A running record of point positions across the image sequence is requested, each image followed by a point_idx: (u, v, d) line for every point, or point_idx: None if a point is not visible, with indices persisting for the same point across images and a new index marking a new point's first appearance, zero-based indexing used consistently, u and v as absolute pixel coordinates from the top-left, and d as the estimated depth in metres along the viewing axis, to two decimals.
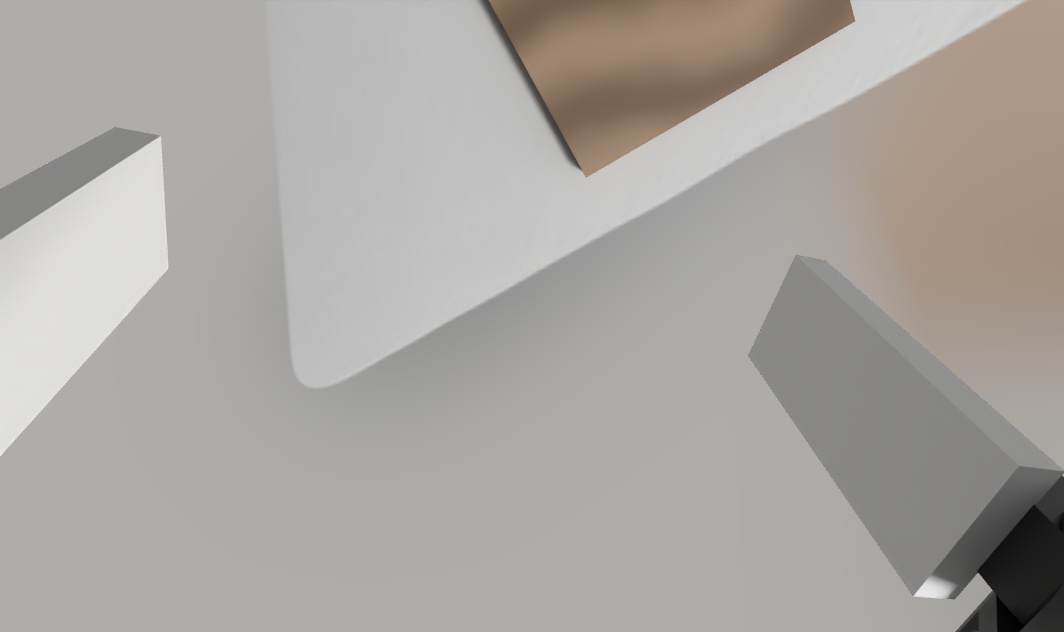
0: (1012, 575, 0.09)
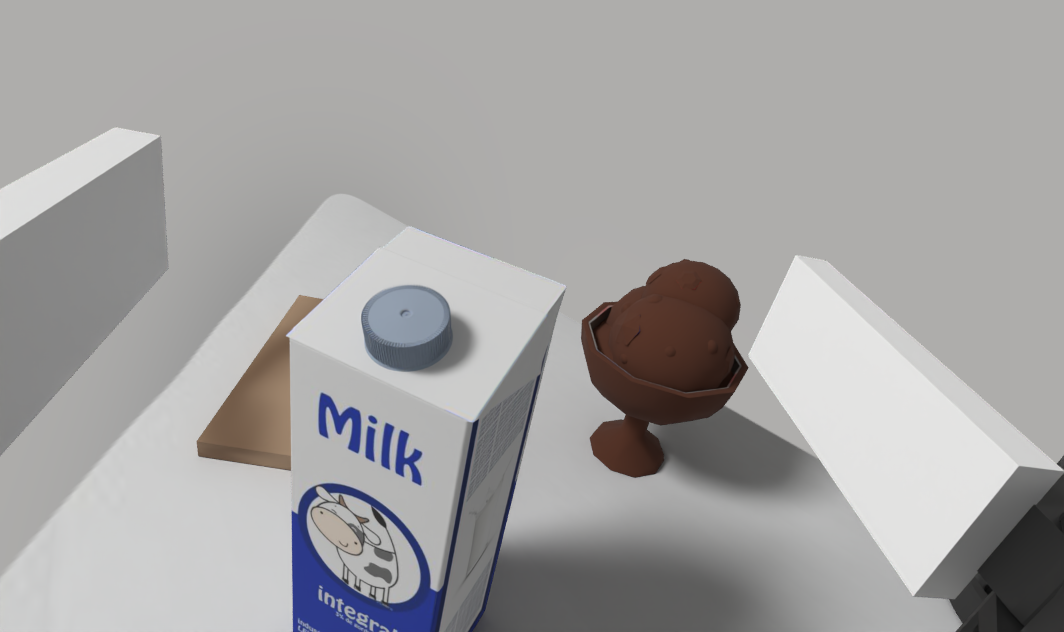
0: (1012, 575, 0.09)
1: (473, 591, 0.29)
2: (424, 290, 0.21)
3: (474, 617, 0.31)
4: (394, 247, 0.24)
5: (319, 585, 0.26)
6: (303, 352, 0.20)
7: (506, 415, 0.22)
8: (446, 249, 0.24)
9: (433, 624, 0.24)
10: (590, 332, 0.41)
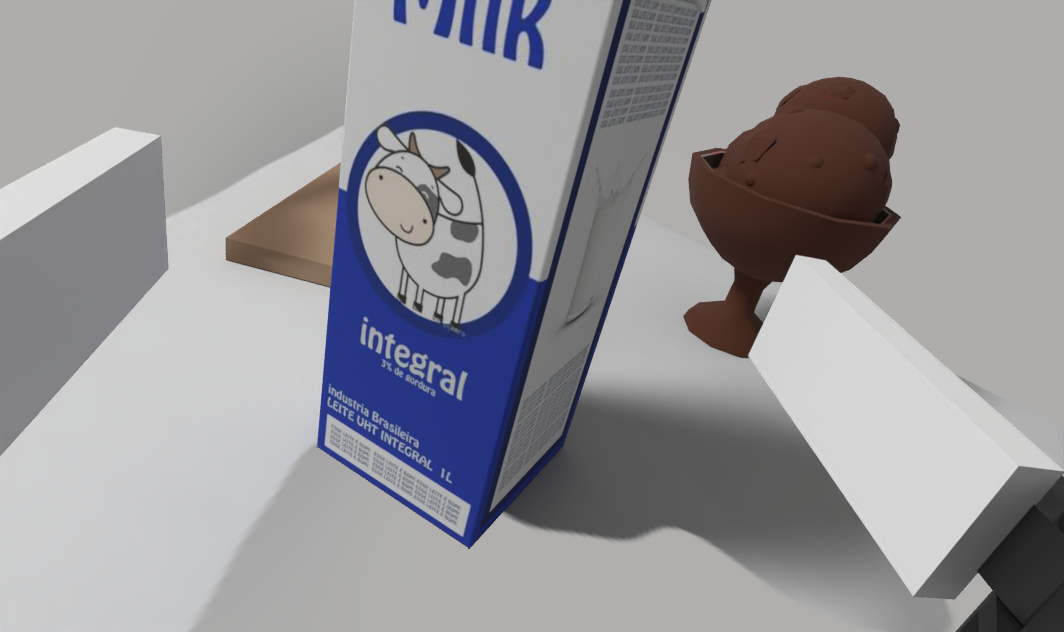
0: (1012, 575, 0.09)
1: (564, 375, 0.21)
2: None
3: (554, 437, 0.24)
4: None
5: (364, 317, 0.19)
6: None
7: (664, 22, 0.15)
8: None
9: (523, 351, 0.17)
10: (704, 161, 0.34)
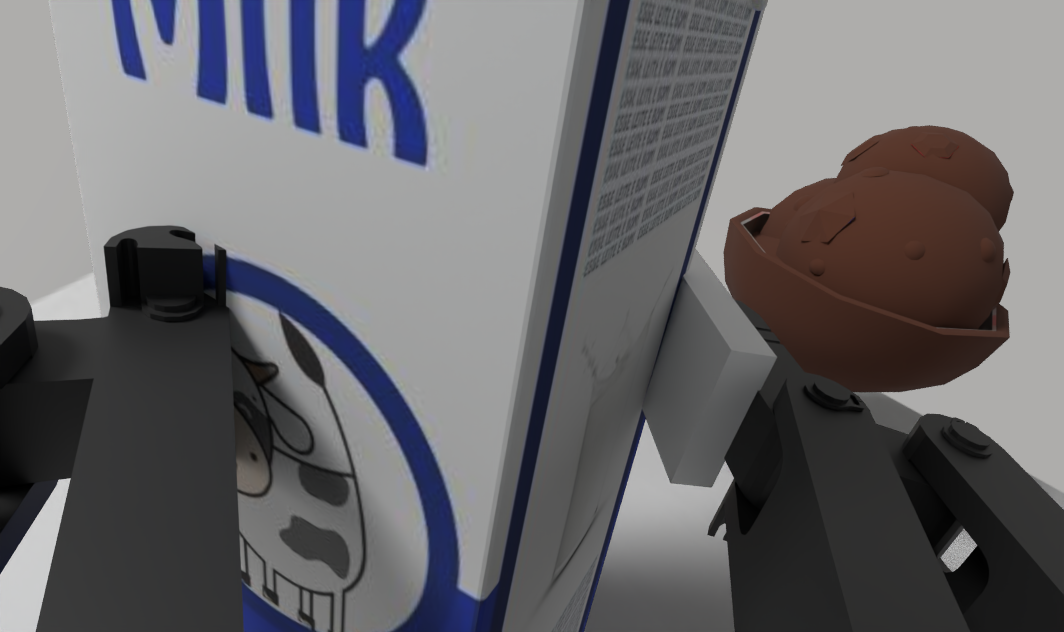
0: (744, 466, 0.10)
1: (560, 628, 0.13)
2: None
3: None
4: None
5: None
6: None
7: (702, 32, 0.07)
8: None
9: None
10: (747, 233, 0.25)
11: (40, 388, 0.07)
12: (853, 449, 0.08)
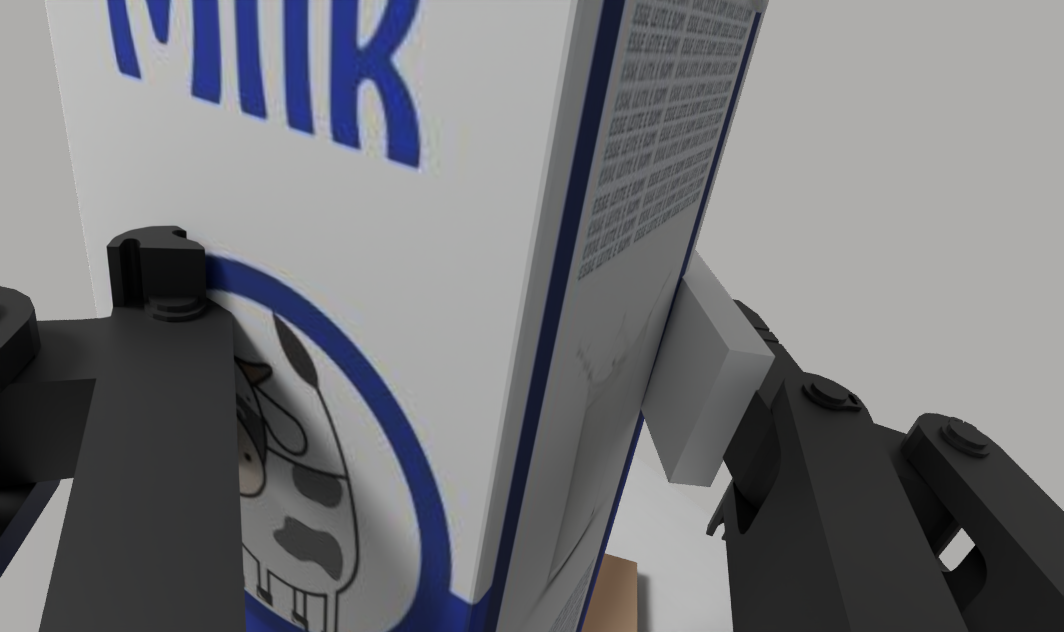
0: (743, 466, 0.10)
1: (556, 630, 0.13)
2: None
3: None
4: None
5: None
6: None
7: (701, 34, 0.07)
8: None
9: None
10: None
11: (43, 388, 0.07)
12: (852, 449, 0.08)
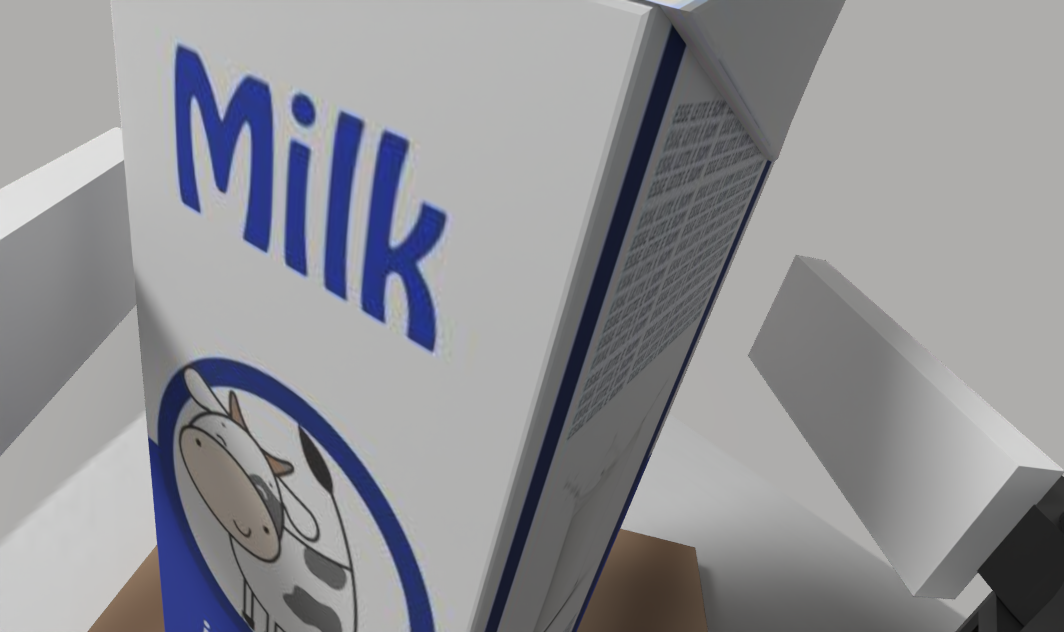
0: (1012, 575, 0.09)
1: None
2: None
3: None
4: None
5: (204, 621, 0.12)
6: None
7: (703, 212, 0.08)
8: None
9: None
10: None
11: None
12: None
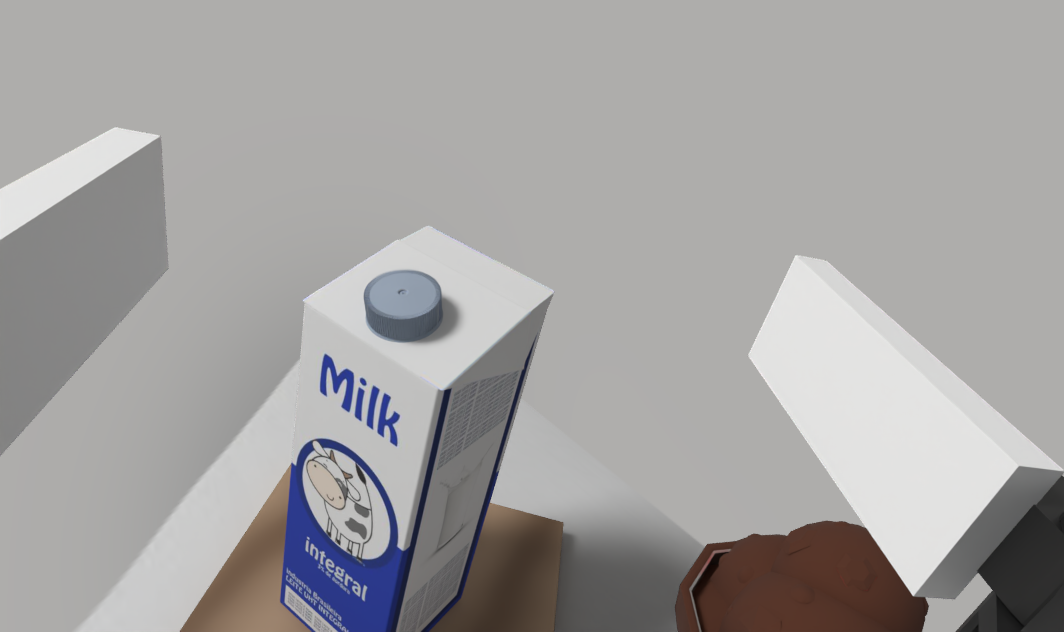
0: (1012, 575, 0.09)
1: (446, 570, 0.31)
2: (423, 276, 0.24)
3: (447, 599, 0.33)
4: (410, 241, 0.27)
5: (307, 536, 0.29)
6: (314, 316, 0.24)
7: (484, 398, 0.25)
8: (455, 248, 0.27)
9: (397, 583, 0.26)
10: (693, 611, 0.28)
11: None
12: None
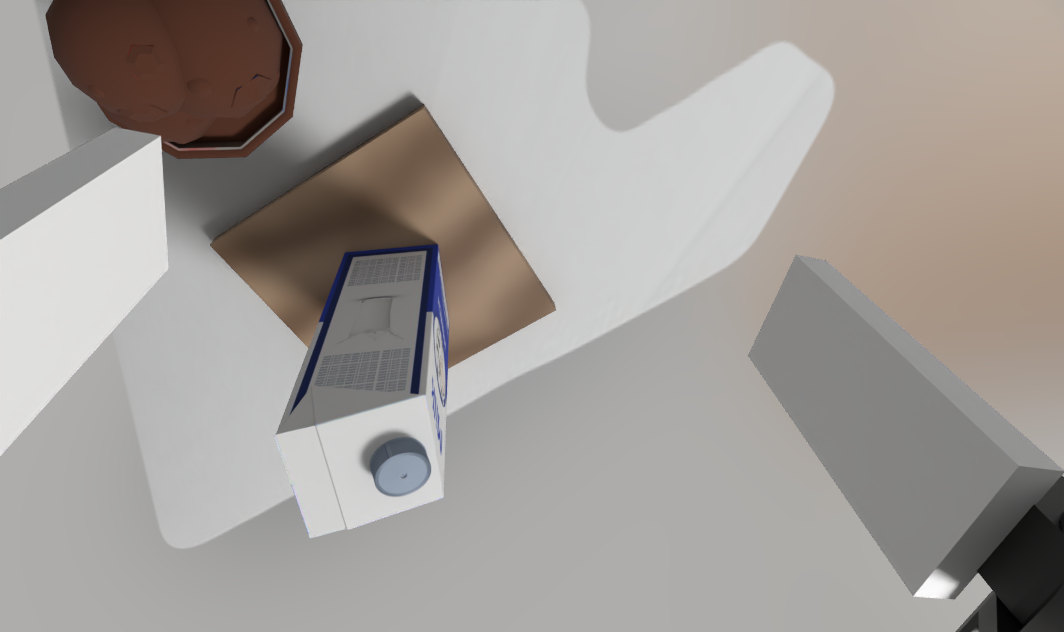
0: (1012, 575, 0.09)
1: (374, 279, 0.41)
2: (378, 484, 0.30)
3: (364, 258, 0.44)
4: (338, 525, 0.32)
5: (445, 351, 0.43)
6: (442, 483, 0.34)
7: (362, 378, 0.32)
8: (311, 507, 0.31)
9: (432, 294, 0.39)
10: (256, 136, 0.33)
11: None
12: None
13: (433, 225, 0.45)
